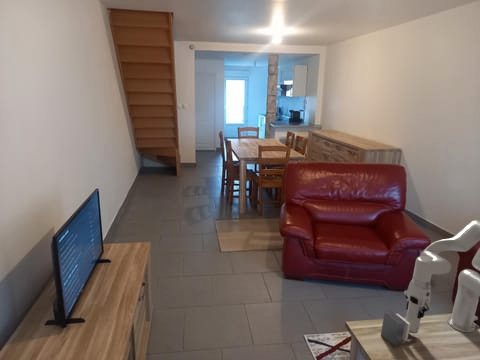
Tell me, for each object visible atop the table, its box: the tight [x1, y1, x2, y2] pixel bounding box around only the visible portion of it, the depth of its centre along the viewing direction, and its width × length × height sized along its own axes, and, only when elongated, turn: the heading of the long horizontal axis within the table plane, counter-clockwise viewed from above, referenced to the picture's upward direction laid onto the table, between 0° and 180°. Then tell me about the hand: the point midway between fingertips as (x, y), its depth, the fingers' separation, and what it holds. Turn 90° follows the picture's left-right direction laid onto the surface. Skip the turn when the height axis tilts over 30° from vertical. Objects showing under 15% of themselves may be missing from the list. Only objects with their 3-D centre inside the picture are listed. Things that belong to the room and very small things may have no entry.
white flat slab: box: [395, 313, 410, 343], centre depth 171 cm, size 1×9×10 cm, turn 21°
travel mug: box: [405, 296, 423, 334], centre depth 172 cm, size 6×7×20 cm
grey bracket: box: [380, 310, 417, 349], centre depth 171 cm, size 14×9×14 cm, turn 111°
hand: (414, 312), depth 172 cm, fingers closed on travel mug, 6 cm apart
